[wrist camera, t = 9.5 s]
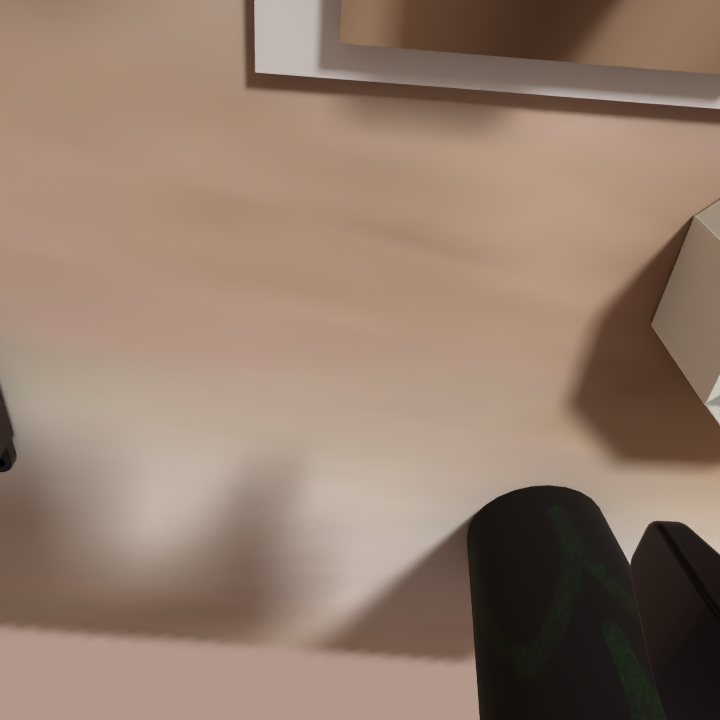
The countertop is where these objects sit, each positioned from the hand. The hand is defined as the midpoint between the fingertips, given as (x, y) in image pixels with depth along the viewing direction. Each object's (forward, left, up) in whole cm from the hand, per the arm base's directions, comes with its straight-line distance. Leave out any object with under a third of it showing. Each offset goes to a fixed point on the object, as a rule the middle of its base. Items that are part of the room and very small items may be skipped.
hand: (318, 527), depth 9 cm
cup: (+9, -14, -12) cm, 21 cm away
